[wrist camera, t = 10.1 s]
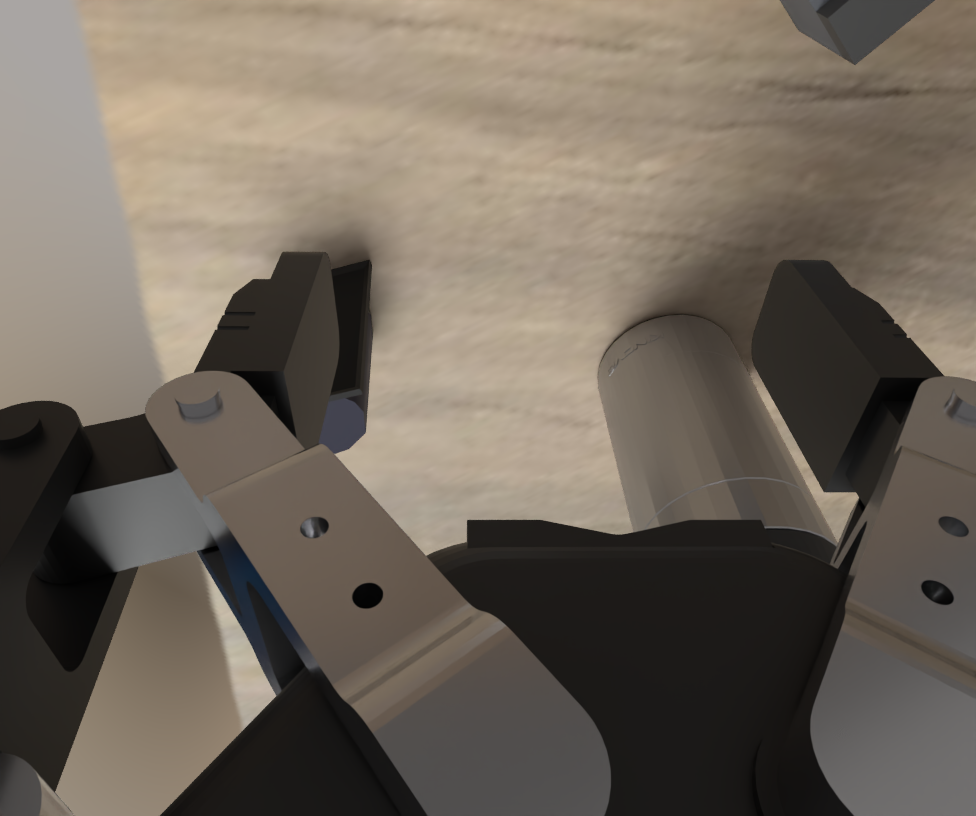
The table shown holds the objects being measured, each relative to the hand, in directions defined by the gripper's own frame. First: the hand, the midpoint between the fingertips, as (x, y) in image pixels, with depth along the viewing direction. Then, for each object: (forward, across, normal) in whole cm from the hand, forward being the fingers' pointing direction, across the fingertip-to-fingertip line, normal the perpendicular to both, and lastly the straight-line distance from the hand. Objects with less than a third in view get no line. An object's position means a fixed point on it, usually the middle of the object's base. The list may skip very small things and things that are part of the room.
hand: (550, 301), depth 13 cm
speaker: (+26, +9, +17) cm, 32 cm away
